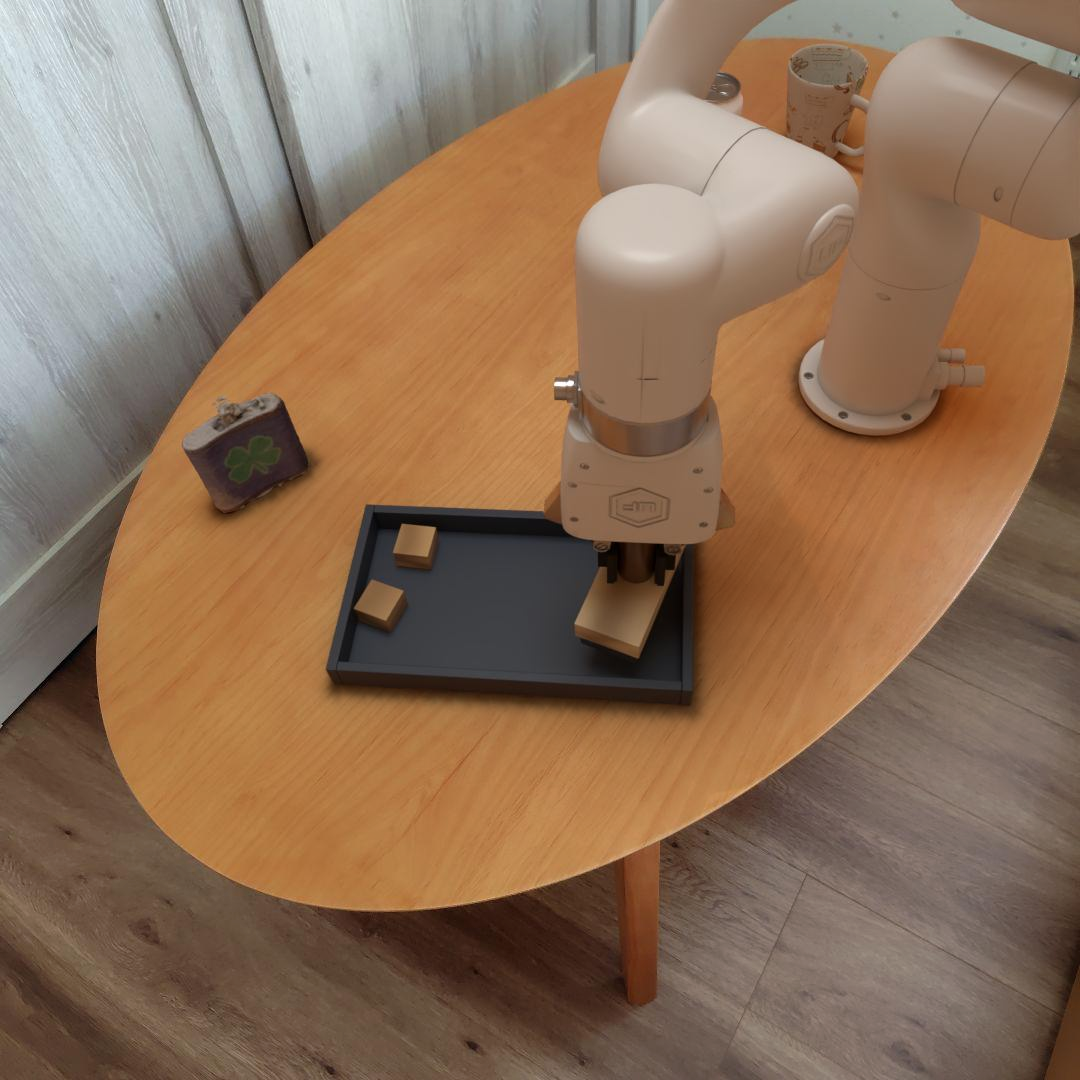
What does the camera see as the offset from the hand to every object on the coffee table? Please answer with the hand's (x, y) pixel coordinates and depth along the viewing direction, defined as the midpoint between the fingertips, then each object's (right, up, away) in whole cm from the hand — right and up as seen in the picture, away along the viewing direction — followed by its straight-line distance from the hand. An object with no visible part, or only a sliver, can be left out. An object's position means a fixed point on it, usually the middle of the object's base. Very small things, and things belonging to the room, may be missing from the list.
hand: (636, 567), depth 70 cm
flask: (-32, +7, +17) cm, 37 cm away
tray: (-9, -4, +7) cm, 12 cm away
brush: (0, -2, +3) cm, 4 cm away
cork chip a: (-17, +1, +10) cm, 20 cm away
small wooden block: (-20, -4, +7) cm, 21 cm away
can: (+11, +42, +37) cm, 57 cm away
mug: (+26, +46, +39) cm, 66 cm away
